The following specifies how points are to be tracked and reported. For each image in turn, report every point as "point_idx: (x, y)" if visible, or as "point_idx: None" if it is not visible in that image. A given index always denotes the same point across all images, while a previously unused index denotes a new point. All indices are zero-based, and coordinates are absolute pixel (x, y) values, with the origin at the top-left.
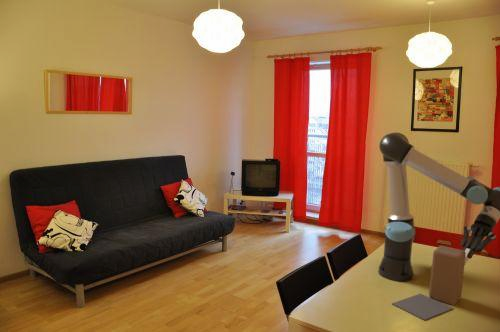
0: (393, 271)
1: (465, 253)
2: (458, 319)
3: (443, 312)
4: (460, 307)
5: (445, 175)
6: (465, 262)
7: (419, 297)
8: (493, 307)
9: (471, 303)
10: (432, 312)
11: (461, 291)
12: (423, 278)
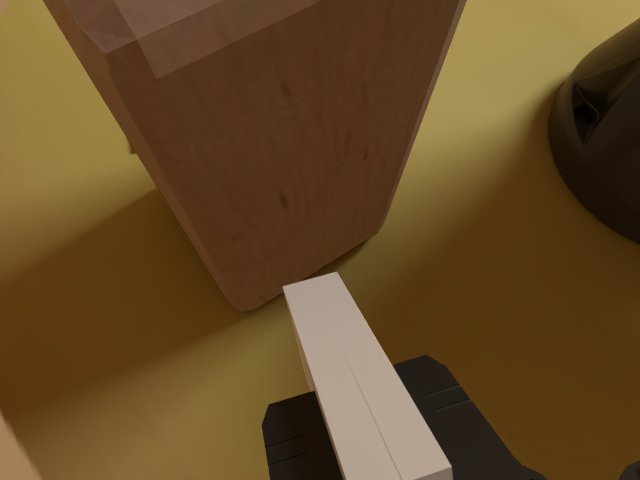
0: (608, 40)
1: (73, 48)
2: (39, 93)
3: None
4: (136, 208)
5: None
6: (304, 367)
7: None
8: (39, 447)
9: (150, 328)
10: None
11: (223, 294)
12: (599, 299)
